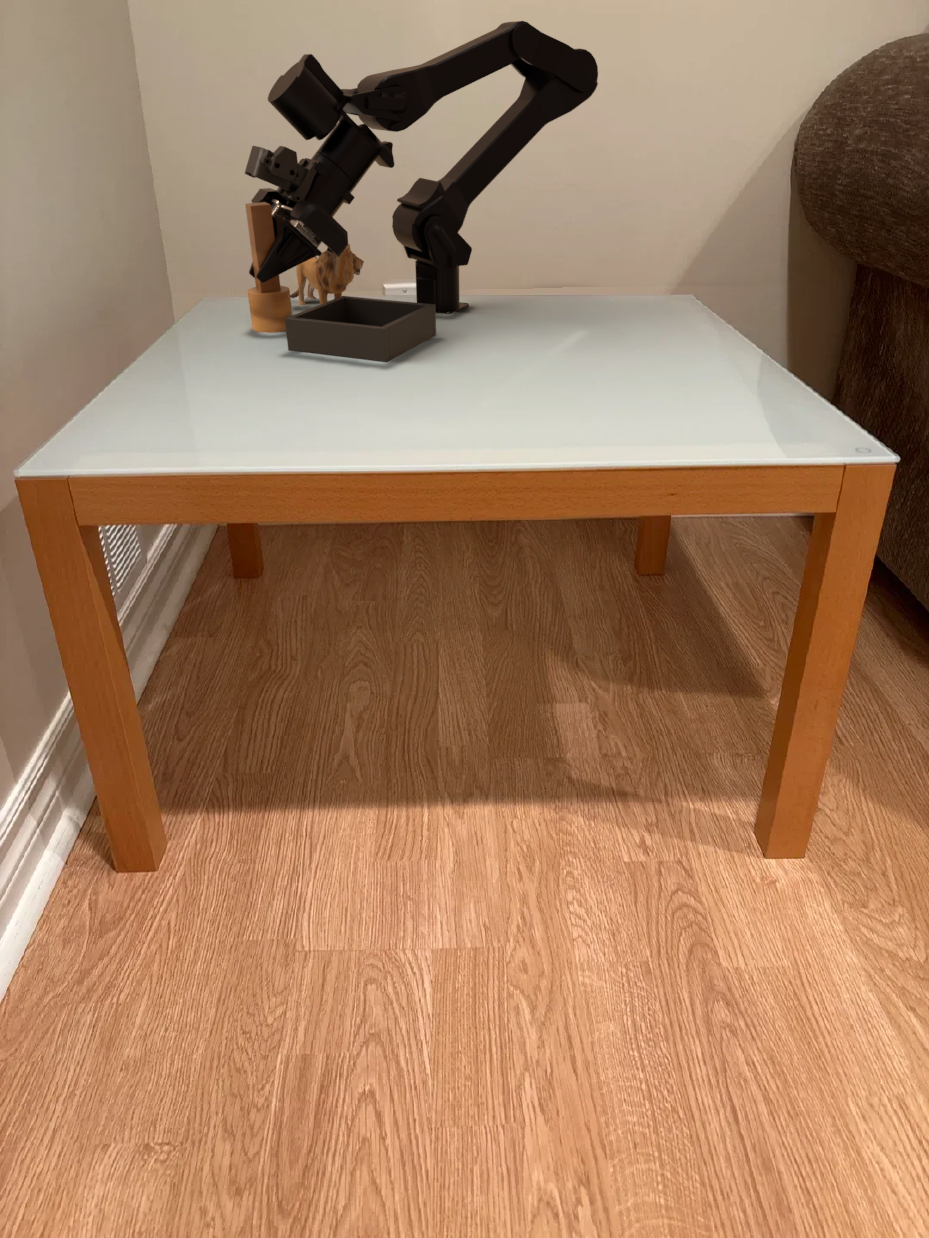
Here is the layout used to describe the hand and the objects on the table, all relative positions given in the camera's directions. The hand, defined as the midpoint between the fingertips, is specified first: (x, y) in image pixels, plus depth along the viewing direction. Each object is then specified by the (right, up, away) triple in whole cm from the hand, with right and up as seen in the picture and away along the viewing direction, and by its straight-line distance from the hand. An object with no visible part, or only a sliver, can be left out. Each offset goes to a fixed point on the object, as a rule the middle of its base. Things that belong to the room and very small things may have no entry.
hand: (255, 278), depth 109 cm
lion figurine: (+6, +1, +14) cm, 15 cm away
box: (+13, -9, -3) cm, 16 cm away
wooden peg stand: (+1, -5, +4) cm, 7 cm away
